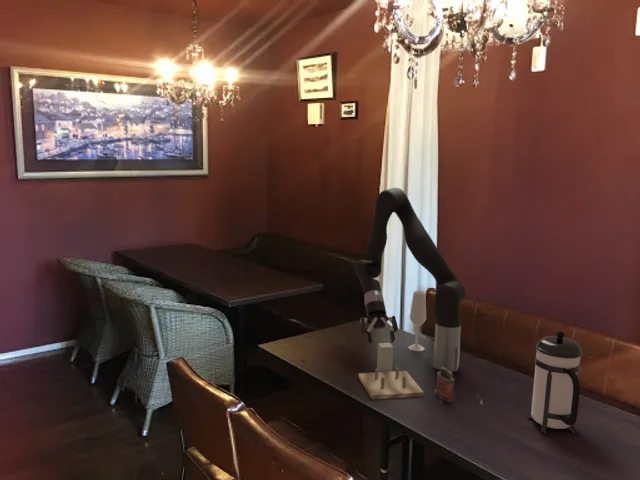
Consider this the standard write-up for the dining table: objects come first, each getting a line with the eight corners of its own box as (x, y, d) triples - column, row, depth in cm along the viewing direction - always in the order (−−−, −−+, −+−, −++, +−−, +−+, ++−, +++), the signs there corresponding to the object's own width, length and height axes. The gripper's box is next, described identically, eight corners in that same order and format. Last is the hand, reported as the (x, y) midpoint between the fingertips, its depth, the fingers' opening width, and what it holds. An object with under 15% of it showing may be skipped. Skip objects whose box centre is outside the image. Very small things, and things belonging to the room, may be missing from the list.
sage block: (376, 368, 212) (377, 343, 211) (388, 367, 213) (389, 342, 211) (380, 373, 208) (381, 347, 206) (391, 372, 209) (393, 347, 207)
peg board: (405, 374, 207) (406, 361, 206) (423, 396, 190) (424, 382, 189) (358, 377, 204) (358, 364, 203) (371, 399, 187) (372, 385, 186)
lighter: (433, 392, 193) (435, 365, 191) (442, 391, 194) (443, 363, 192) (446, 403, 185) (448, 374, 184) (455, 401, 187) (457, 373, 185)
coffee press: (515, 425, 172) (523, 331, 166) (538, 408, 183) (546, 320, 177) (572, 447, 159) (583, 347, 154) (593, 428, 171) (604, 334, 165)
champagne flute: (407, 350, 232) (410, 293, 228) (408, 344, 238) (411, 289, 234) (424, 351, 230) (427, 295, 226) (425, 346, 237) (428, 290, 233)
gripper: (359, 300, 218) (365, 338, 209) (394, 299, 221) (402, 337, 212) (355, 309, 224) (361, 347, 215) (389, 308, 227) (397, 345, 218)
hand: (381, 342), depth 214 cm, fingers open, 8 cm apart
